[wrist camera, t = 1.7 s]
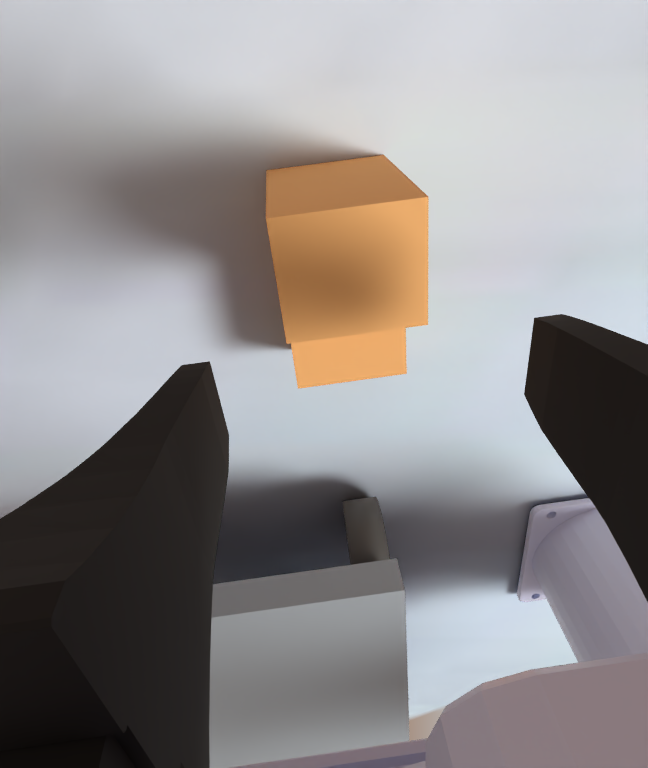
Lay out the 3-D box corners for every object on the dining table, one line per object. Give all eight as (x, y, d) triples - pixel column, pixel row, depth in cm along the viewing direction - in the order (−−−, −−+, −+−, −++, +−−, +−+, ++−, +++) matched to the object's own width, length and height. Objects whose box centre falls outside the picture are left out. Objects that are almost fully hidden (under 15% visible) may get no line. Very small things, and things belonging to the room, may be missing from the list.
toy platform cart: (376, 474, 26) (446, 759, 15) (389, 678, 36) (436, 928, 26) (131, 508, 25) (38, 818, 15) (216, 703, 36) (195, 964, 26)
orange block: (383, 154, 18) (428, 196, 13) (390, 335, 22) (427, 422, 17) (266, 169, 18) (265, 218, 13) (294, 348, 22) (302, 440, 17)
